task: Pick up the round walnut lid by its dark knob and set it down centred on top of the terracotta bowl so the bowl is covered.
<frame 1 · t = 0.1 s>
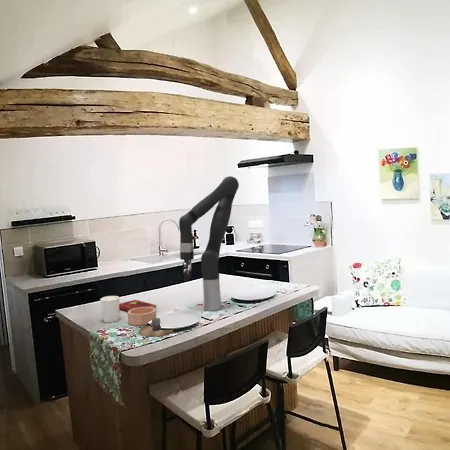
hand: (187, 279, 249), 17 cm above the table, tool pointing down, fingers open, 8 cm apart
candle holder: (111, 320, 236), on the table
bowl: (142, 321, 230), on the table
lid: (156, 331, 215), on the table
hardcover book: (137, 311, 253), on the table
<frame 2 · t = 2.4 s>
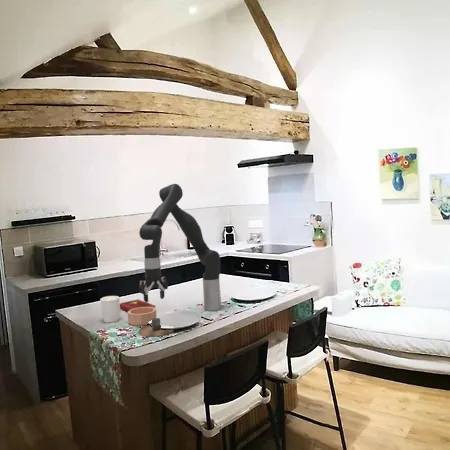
hand: (154, 300, 213), 15 cm above the table, tool pointing down, fingers open, 8 cm apart
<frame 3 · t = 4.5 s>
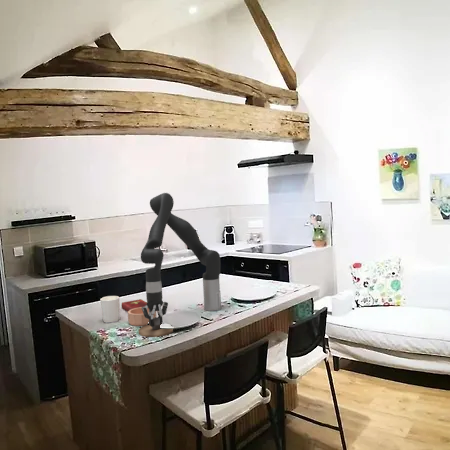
hand: (156, 325, 214), 3 cm above the table, tool pointing down, fingers closed on lid, 4 cm apart
lid: (156, 331, 214), on the table, touching gripper
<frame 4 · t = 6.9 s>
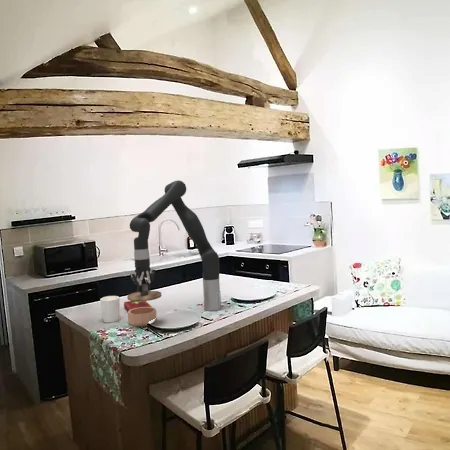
hand: (144, 291, 225), 17 cm above the table, tool pointing down, fingers closed on lid, 4 cm apart
lid: (144, 297, 225), point 14 cm above the table, touching gripper
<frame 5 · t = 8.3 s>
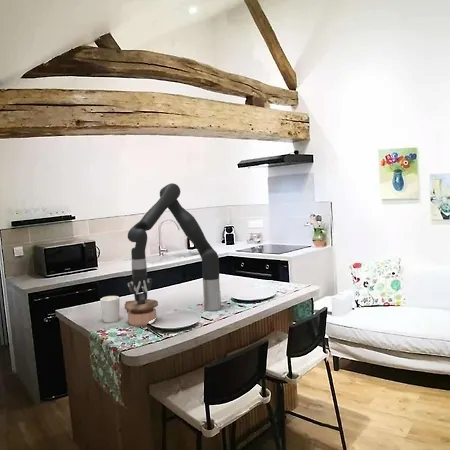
hand: (141, 300, 230), 12 cm above the table, tool pointing down, fingers closed on lid, 4 cm apart
lid: (141, 305, 230), point 8 cm above the table, touching gripper
when the fingers open (10 cm above the table, at t = 9.3 s): lid drops 1 cm, resting on bowl.
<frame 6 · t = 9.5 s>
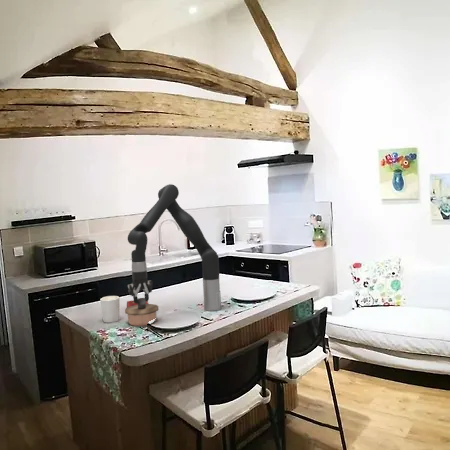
hand: (141, 302, 230), 10 cm above the table, tool pointing down, fingers open, 5 cm apart
lid: (142, 310, 230), point 6 cm above the table, touching bowl
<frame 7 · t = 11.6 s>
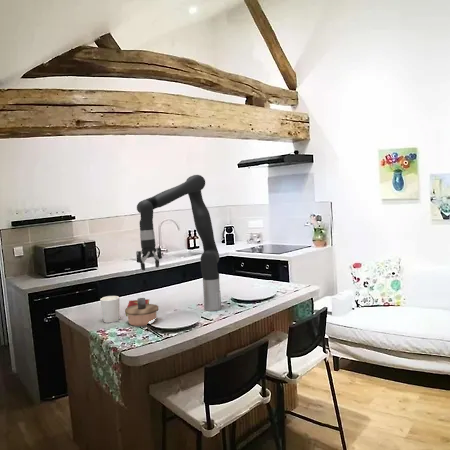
hand: (150, 268, 236), 26 cm above the table, tool pointing down, fingers open, 8 cm apart
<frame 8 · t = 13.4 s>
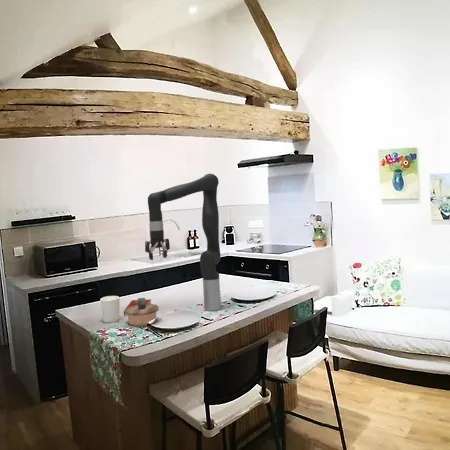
hand: (158, 258, 244), 30 cm above the table, tool pointing down, fingers open, 8 cm apart
at the end: lid 0.1 cm off-centre on the bowl, point 6.0 cm above the bowl's base; lid tilted 0°; the gripper is holding nothing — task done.
